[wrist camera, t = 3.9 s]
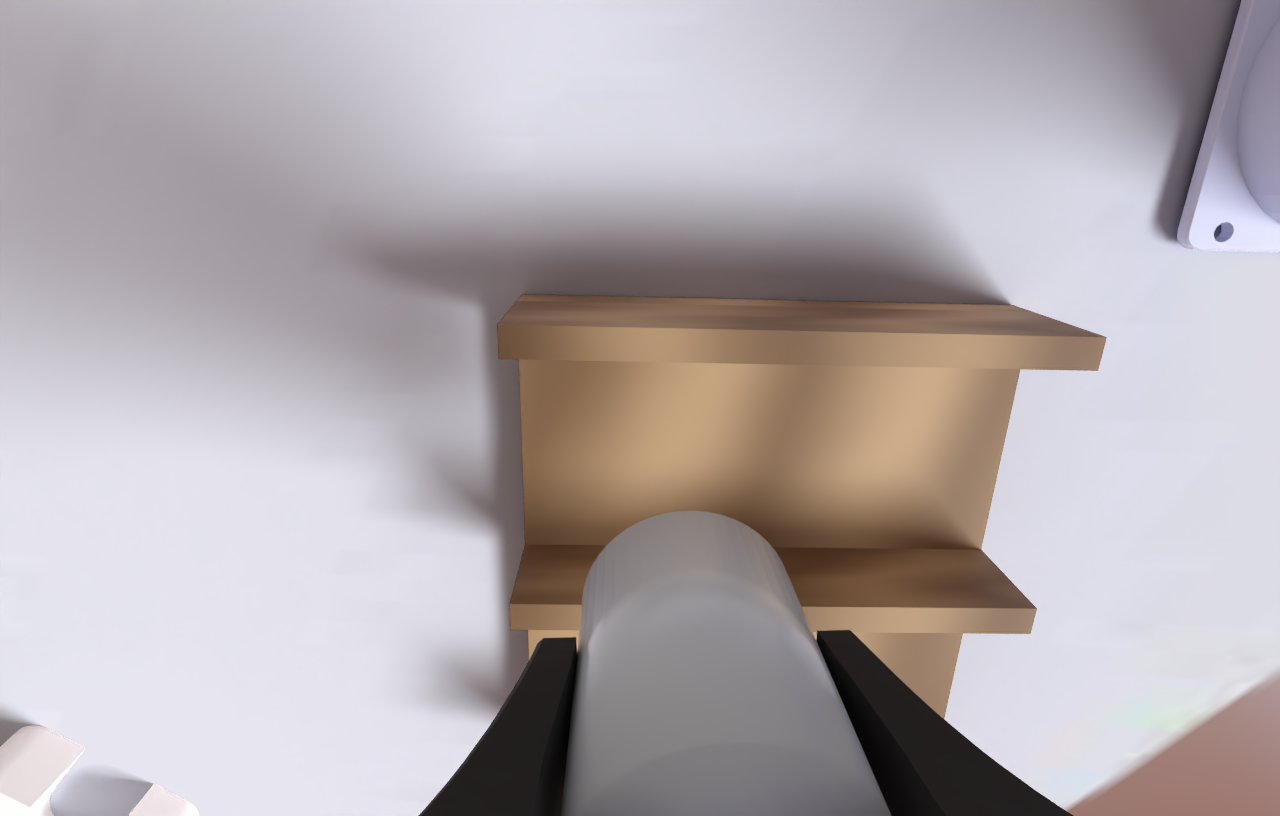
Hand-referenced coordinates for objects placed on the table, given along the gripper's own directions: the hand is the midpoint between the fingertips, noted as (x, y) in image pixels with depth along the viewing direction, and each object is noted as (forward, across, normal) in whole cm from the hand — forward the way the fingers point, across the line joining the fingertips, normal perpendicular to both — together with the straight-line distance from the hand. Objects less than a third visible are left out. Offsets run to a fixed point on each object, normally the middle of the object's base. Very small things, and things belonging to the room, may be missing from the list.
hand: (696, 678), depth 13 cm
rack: (+9, -3, +2) cm, 10 cm away
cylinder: (+2, 0, 0) cm, 2 cm away
